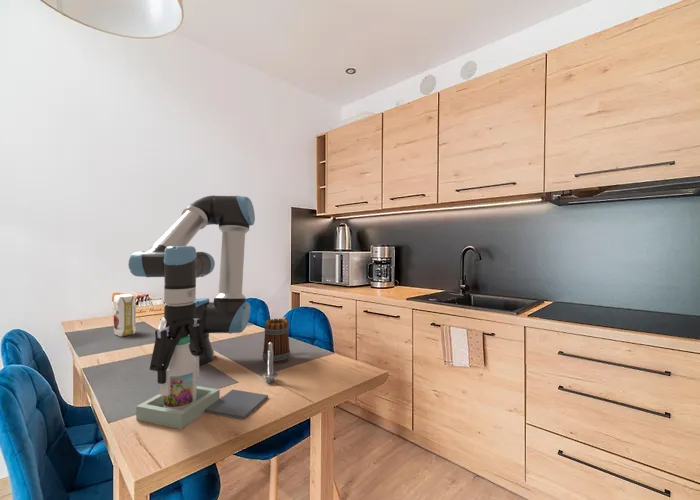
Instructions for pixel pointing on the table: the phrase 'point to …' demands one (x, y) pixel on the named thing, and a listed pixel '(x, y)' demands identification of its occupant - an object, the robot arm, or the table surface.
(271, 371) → the screw
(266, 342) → the mug
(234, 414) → the plate
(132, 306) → the juice carton
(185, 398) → the milk bottle
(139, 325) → the table surface
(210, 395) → the collar
